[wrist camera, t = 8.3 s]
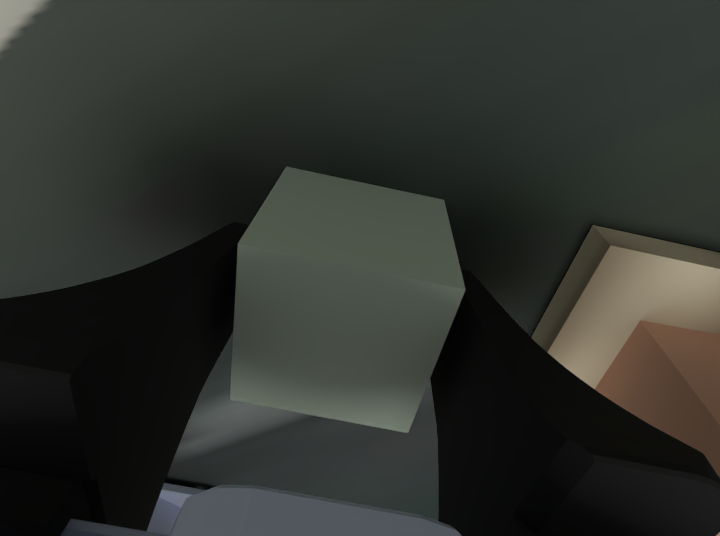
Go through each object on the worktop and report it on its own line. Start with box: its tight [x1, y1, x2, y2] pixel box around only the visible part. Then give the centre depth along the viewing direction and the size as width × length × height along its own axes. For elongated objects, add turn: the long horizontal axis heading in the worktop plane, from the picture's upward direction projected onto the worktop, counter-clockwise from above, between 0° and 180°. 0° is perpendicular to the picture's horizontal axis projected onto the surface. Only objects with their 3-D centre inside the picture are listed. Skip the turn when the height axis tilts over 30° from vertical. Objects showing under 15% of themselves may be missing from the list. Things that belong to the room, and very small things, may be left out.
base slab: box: [531, 225, 720, 389], centre depth 14 cm, size 9×9×1 cm
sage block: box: [230, 167, 466, 433], centre depth 12 cm, size 4×4×4 cm
